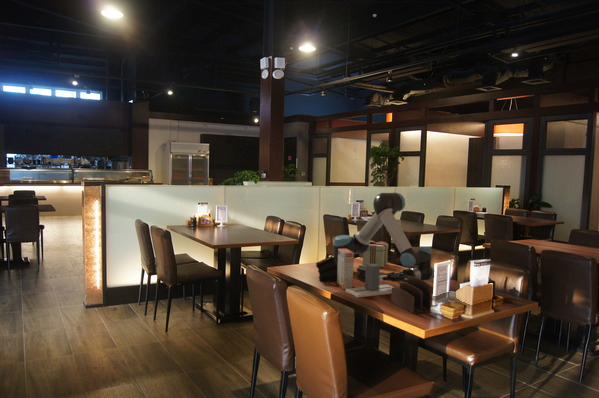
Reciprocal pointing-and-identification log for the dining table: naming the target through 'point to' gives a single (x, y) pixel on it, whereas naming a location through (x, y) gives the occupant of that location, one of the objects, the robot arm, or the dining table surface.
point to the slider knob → (372, 277)
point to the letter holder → (413, 295)
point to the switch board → (365, 292)
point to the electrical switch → (361, 272)
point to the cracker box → (345, 268)
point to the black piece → (327, 270)
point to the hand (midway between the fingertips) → (377, 278)
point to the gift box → (376, 254)
